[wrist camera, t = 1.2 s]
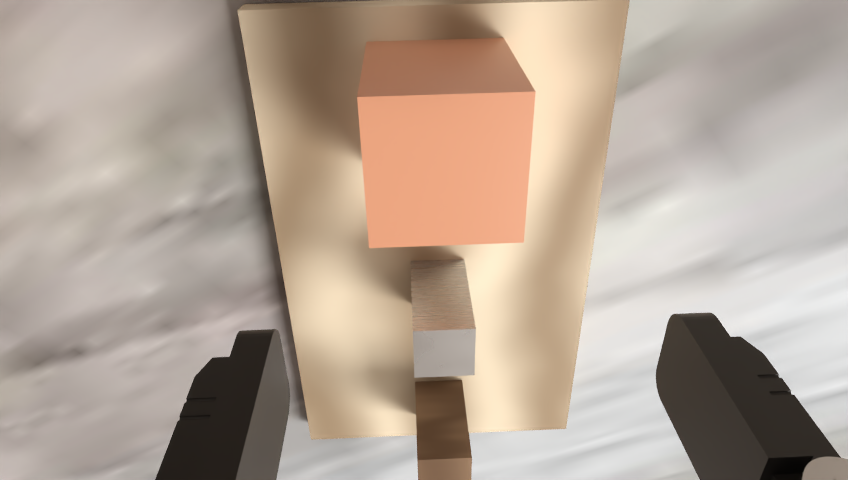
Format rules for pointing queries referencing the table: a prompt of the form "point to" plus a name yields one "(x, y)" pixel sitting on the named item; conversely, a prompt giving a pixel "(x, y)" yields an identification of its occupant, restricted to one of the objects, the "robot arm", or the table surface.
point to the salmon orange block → (444, 142)
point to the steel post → (442, 319)
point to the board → (390, 267)
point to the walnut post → (442, 431)
